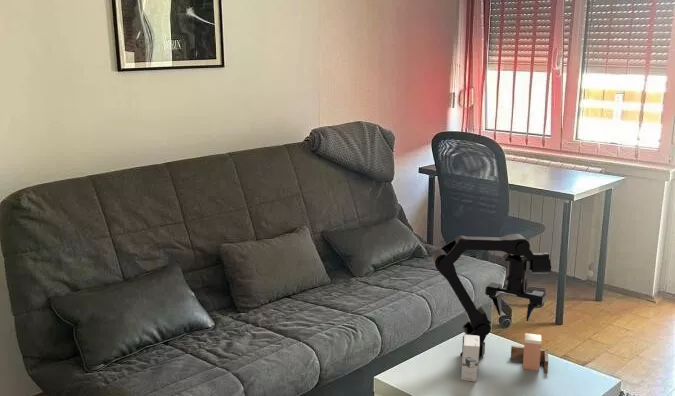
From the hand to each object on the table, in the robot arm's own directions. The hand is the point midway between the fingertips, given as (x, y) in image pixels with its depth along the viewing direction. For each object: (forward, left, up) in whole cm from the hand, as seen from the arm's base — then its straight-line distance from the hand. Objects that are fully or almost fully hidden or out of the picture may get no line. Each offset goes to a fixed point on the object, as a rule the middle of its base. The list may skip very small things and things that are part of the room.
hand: (513, 317), depth 220 cm
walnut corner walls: (+7, -4, -13) cm, 15 cm away
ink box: (-7, -21, -13) cm, 26 cm away
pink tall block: (+8, -5, -13) cm, 16 cm away
